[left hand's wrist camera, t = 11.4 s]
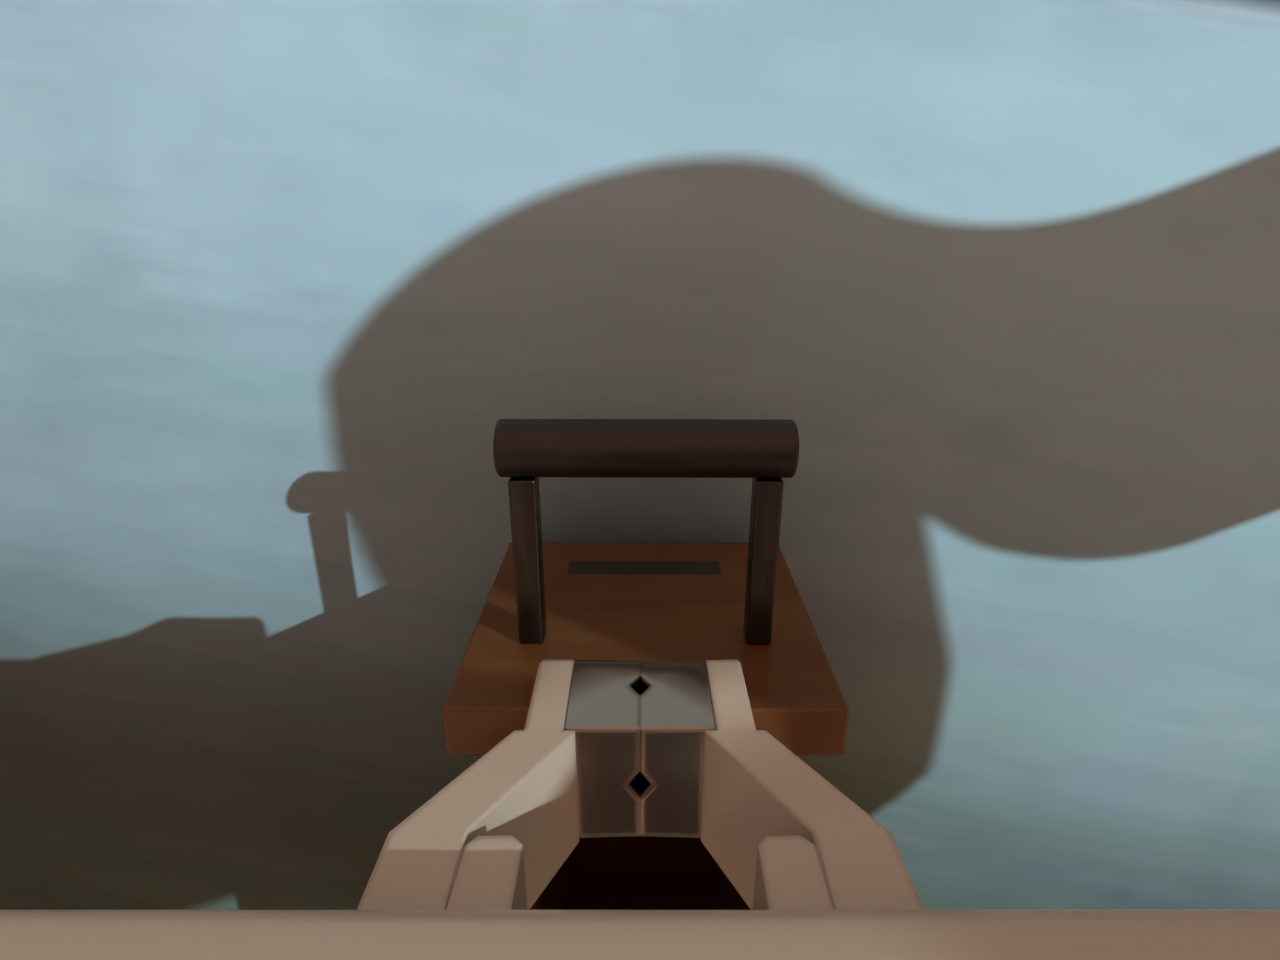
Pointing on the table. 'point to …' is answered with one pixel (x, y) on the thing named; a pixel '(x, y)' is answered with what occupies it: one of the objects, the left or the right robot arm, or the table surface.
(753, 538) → the drawer
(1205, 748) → the table surface
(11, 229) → the table surface
